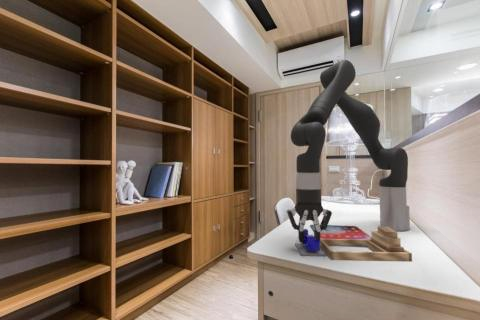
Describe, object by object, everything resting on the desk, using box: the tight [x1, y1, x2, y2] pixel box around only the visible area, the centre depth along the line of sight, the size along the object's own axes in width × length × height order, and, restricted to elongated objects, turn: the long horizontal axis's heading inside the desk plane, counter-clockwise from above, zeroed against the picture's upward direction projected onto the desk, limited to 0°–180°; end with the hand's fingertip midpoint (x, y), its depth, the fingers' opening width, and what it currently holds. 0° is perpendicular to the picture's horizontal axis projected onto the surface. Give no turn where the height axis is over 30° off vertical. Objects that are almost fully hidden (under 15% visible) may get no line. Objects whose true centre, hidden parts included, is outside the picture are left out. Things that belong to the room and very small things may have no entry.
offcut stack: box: [370, 226, 405, 252], centre depth 66 cm, size 5×9×6 cm, turn 177°
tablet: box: [309, 224, 371, 249], centre depth 83 cm, size 19×25×1 cm
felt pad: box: [294, 242, 327, 257], centre depth 68 cm, size 7×9×1 cm
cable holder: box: [303, 228, 321, 251], centre depth 68 cm, size 8×4×4 cm, turn 179°
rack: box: [320, 239, 413, 262], centre depth 67 cm, size 21×12×2 cm, turn 87°
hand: (309, 242), depth 68 cm, fingers closed on cable holder, 3 cm apart
